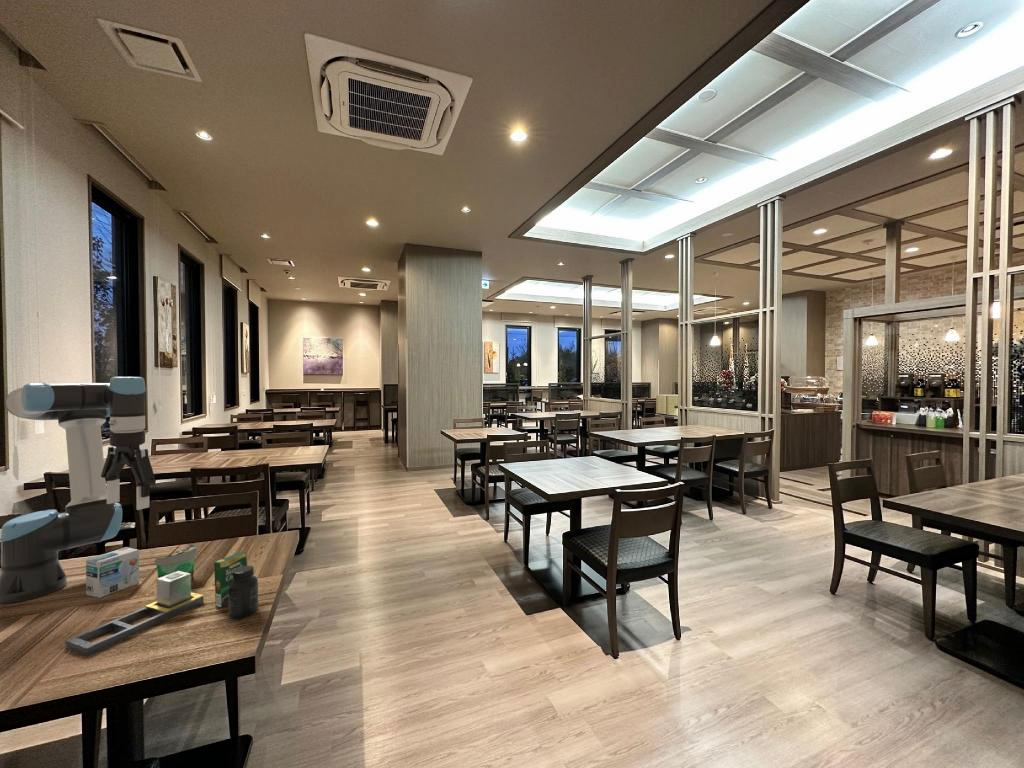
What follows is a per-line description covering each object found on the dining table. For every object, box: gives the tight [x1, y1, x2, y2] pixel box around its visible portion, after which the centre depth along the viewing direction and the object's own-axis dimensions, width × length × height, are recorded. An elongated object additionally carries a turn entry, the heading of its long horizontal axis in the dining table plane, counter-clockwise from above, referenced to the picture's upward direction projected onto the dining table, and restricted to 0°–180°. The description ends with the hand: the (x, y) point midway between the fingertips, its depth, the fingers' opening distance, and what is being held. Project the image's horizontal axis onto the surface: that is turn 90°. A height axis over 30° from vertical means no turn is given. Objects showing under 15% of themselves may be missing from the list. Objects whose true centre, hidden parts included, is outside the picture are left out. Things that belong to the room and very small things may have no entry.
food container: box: [153, 543, 199, 582], centre depth 136 cm, size 12×6×10 cm, turn 168°
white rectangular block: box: [156, 571, 192, 609], centre depth 120 cm, size 6×6×9 cm
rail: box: [64, 591, 205, 657], centre depth 113 cm, size 9×26×2 cm, turn 158°
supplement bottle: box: [228, 565, 259, 620], centre depth 117 cm, size 7×7×12 cm
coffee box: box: [213, 551, 248, 610], centre depth 123 cm, size 8×3×13 cm, turn 157°
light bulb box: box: [85, 546, 140, 599], centre depth 132 cm, size 11×7×11 cm, turn 161°
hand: (127, 505), depth 122 cm, fingers open, 13 cm apart
